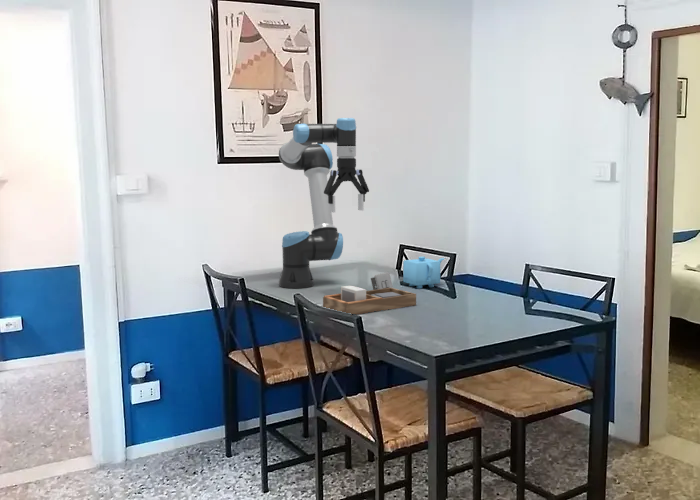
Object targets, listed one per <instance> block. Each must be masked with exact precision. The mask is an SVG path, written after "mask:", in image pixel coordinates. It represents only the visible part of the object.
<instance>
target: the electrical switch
mask: <svg viewBox="0 0 700 500" xmlns="http://www.w3.org/2000/svg"><path fill="white" fill-rule="evenodd" d="M370 282H371V287H372V290H377V289H384V288H394V287H393V281H392V278H391V273H390V272H389V271H387V272H382V273H380V274H379V273H378V274H374V277H370Z"/></svg>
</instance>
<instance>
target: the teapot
mask: <svg viewBox="0 0 700 500" xmlns="http://www.w3.org/2000/svg"><path fill="white" fill-rule="evenodd" d="M445 259H446V258H445V257H443V258H442V257H441V258H439V259H437V260H436V259H431V258H426V257H425V256H422V255H421V256H418V259H406V260H402V262H403V272H402V273H403V276H402V277H403V279H402V280H403V281H402V282H403V283H406V284H408V286H409V287H415V286H416V289H423V286H426V285H428V287H429V288H435V287H434V286H435V284H441V264H442V262H443V260H445Z"/></svg>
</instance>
